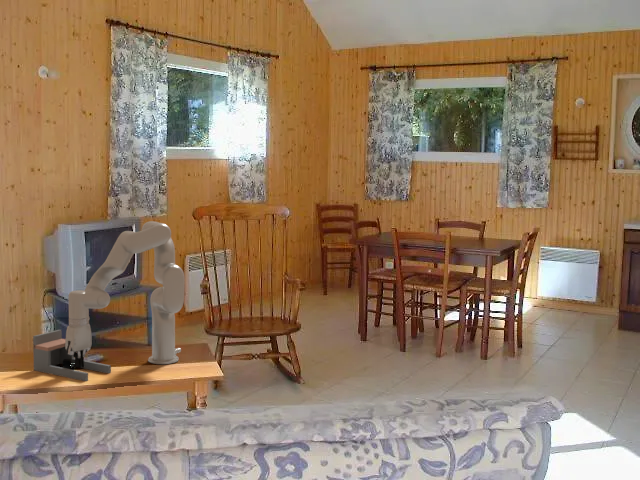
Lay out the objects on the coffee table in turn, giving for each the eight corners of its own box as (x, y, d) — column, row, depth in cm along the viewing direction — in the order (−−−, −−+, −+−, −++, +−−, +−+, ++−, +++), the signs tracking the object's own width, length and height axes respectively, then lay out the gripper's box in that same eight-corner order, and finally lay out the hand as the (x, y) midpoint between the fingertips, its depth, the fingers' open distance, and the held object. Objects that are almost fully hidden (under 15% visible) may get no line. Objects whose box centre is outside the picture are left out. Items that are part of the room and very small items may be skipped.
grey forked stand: (59, 362, 311) (59, 329, 309) (110, 372, 298) (110, 338, 296) (33, 370, 299) (33, 336, 297) (85, 381, 286) (85, 345, 284)
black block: (74, 375, 295) (74, 364, 295) (54, 376, 294) (54, 364, 293) (77, 366, 307) (77, 355, 307) (59, 367, 306) (59, 356, 305)
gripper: (86, 317, 303) (86, 361, 305) (57, 324, 290) (58, 370, 291) (99, 319, 299) (100, 364, 301) (71, 326, 286) (71, 372, 288)
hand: (79, 366), depth 296 cm, fingers closed
